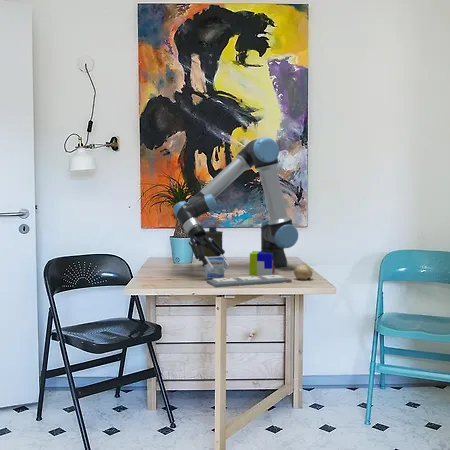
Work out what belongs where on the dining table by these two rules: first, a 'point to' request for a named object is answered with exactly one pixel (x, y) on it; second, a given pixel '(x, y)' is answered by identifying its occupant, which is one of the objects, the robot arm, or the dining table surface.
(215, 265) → the medicine box
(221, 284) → the digit board
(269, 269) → the puzzle toy
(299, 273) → the onion
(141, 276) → the dining table surface
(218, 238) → the canister
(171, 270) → the dining table surface
